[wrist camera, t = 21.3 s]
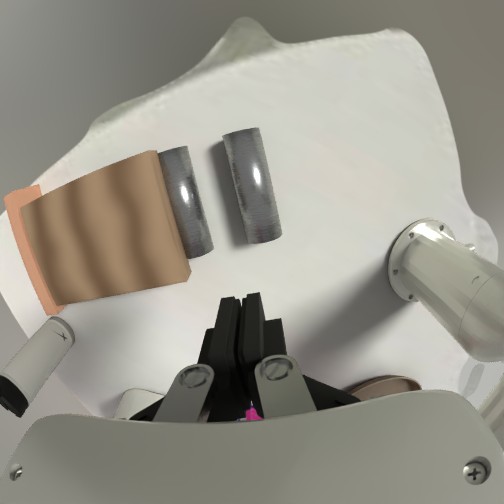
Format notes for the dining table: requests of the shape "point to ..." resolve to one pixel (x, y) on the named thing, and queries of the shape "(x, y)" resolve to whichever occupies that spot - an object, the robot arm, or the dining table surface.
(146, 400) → the toilet tissue
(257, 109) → the dining table surface
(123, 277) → the slab
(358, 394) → the plant saucer
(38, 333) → the travel mug
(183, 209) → the middle roller
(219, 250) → the dining table surface
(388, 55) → the dining table surface
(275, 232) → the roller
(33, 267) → the bar
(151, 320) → the dining table surface
